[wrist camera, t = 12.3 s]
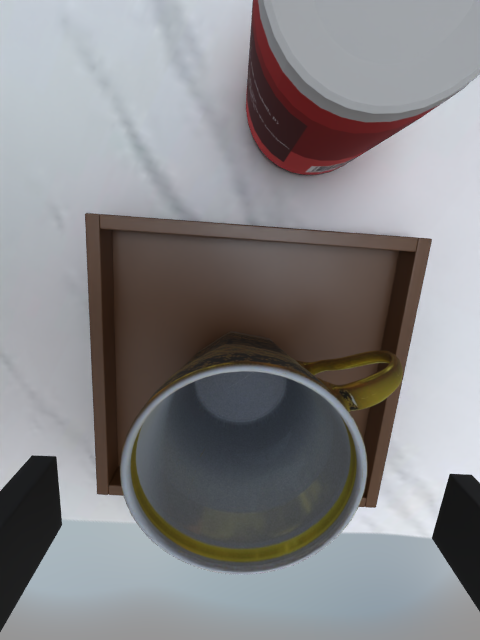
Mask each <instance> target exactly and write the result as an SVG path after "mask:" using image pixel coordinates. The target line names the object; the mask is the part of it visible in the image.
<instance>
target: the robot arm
mask: <svg viewBox="0 0 480 640" xmlns="http://www.w3.org/2000/svg"><path fill="white" fill-rule="evenodd" d="M61 526H62V519H61V507H60V495H59V483H58V471H57V459H56V457H55V456H31V457H30V458H29V459H28V461H27V462H26V463H25V464H24V465H23V466H22V467H21V468H20V470H19V471H18V472H17V473H16V474H15V475H14V476H13V477H12V479H11V480H10V481H9V482H8V483H7V484H6V485H5V486H4V488H3V489H2V490H1V491H0V632H1V630H2V628H3V626H4V625H5V623H6V621H7V619H8V618H9V616H10V614H11V613H12V611H13V609H14V607H15V606H16V604H17V602H18V600H19V599H20V597H21V595H22V594H23V592H24V590H25V588H26V587H27V585H28V583H29V581H30V579H31V578H32V576H33V574H34V573H35V571H36V569H37V568H38V566H39V564H40V562H41V560H42V559H43V557H44V555H45V554H46V552H47V550H48V548H49V547H50V545H51V543H52V541H53V540H54V538H55V536H56V535H57V533H58V531H59V529H60V528H61ZM432 539H433V541H434V542H435V544H436V545H437V547H438V548H439V550H440V551H441V553H442V554H443V556H444V557H445V559H446V561H447V562H448V564H449V565H450V567H451V568H452V570H453V571H454V573H455V574H456V576H457V577H458V579H459V581H460V582H461V584H462V585H463V587H464V588H465V590H466V591H467V593H468V594H469V596H470V597H471V599H472V600H473V602H474V604H475V605H476V606H477V608H478V610H479V611H480V483H479V482H478V481H477V480H476V479H475V478H474V477H473V476H472V475H463V474H450V475H449V479H448V482H447V486H446V489H445V493H444V497H443V500H442V504H441V507H440V511H439V515H438V518H437V522H436V525H435V529H434V533H433V536H432Z"/></svg>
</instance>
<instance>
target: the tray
mask: <svg viewBox="0 0 480 640" xmlns="http://www.w3.org/2000/svg"><path fill="white" fill-rule="evenodd" d="M85 224H86V247H87V270H88V293H89V316H90V340H91V363H92V386H93V409H94V432H95V455H96V478H97V494H102V495H108V494H109V495H123V491H122V486H121V479H120V461H121V454H122V448H123V445H124V441H125V438H126V435H127V433H128V431H129V429H130V427H131V425H132V423H133V421H134V419H135V418H136V416H137V415H138V414H139V412H140V411H141V409H142V408H143V407H144V405H145V404H146V403H147V401H148V400H149V399H150V398H151V396H152V395H153V394H154V393H155V392H156V391H157V390H158V389H159V388H160V387H161V386H162V385H163V384H164V383H165V382H166V381H167V380H168V379H169V378H170V377H171V376H172V375H174V374H175V373H176V372H177V371H179V370H180V369H182V368H183V367H184V366H185V365H186V364H187V363H188V362H189V361H190V360H191V359H192V357H193V356H194V355H195V354H197V353H198V352H199V351H200V350H202V349H203V348H205V347H206V346H208V345H209V344H211V343H213V342H214V341H216V340H217V339H219V338H220V337H222V336H224V335H225V334H227V333H228V332H231V331H233V332H239V333H244V334H249V335H255V336H260V337H265V338H269V339H271V340H272V341H273V342H274V343H275V344H276V345H277V346H278V347H279V348H281V349H282V350H283V351H284V352H286V353H287V354H288V355H289V356H290V357H291V358H293V359H294V360H296V361H297V360H299V361H303V362H315V361H320V360H327V359H337V358H342V357H346V356H351V355H355V354H359V353H363V352H368V351H378V350H383V351H389V352H391V353H393V354H395V355H396V356H397V357H398V358H399V360H400V362H401V365H402V368H403V375H404V370H405V366H406V361H407V356H408V351H409V346H410V342H411V337H412V332H413V327H414V323H415V318H416V313H417V308H418V303H419V299H420V294H421V289H422V284H423V280H424V275H425V270H426V265H427V260H428V256H429V251H430V246H431V241H432V239H427V238H414V237H400V236H387V235H374V234H360V233H347V232H333V231H320V230H306V229H293V228H279V227H266V226H253V225H239V224H226V223H212V222H199V221H185V220H172V219H158V218H145V217H131V216H118V215H105V214H91V213H86V214H85ZM388 365H389V363H374V364H368V365H363V366H358V367H354V368H349V369H343V370H329V371H323V372H320V373H317V374H316V375H314V376H315V377H317V378H320V379H322V380H324V381H326V382H329V383H332V384H334V385H343V384H348V383H351V382H354V381H357V380H360V379H363V378H366V377H368V376H370V375H373V374H375V373H378V372H380V371H381V370H383V369H385V368H386V367H387V366H388ZM402 380H403V376H402ZM402 380H401V383H400V384H399V386H398V387H397V389H396V390H395V391H394V392H393V393H392V394H391V395H389V396H388V397H387V398H386V399H384V400H383V401H381V402H380V403H378V404H375V405H373V406H371V407H368V408H365V409H361V410H354V411H350V414H351V416H352V417H353V419H354V421H355V422H356V424H357V426H358V428H359V430H360V432H361V435H362V438H363V441H364V445H365V449H366V454H367V479H366V485H365V490H364V493H363V497H362V500H361V502H360V504H359V507H374V508H375V507H376V504H377V499H378V495H379V490H380V485H381V480H382V475H383V471H384V466H385V461H386V456H387V452H388V447H389V442H390V437H391V432H392V428H393V423H394V418H395V413H396V409H397V404H398V399H399V394H400V389H401V385H402ZM123 496H124V495H123Z"/></svg>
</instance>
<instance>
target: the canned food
mask: <svg viewBox="0 0 480 640" xmlns="http://www.w3.org/2000/svg"><path fill="white" fill-rule="evenodd" d="M479 74H480V0H253V7H252V21H251V36H250V50H249V65H248V79H247V94H246V112H247V118H248V124H249V127H250V130H251V133H252V136H253V138H254V140H255V142H256V143H257V145H258V147H259V148H260V150H261V151H262V152H263V153H264V154H265V155H266V157H267V158H268V159H269V160H271V161H272V162H273V163H275V164H276V165H277V166H279V167H280V168H283V169H285V170H287V171H290V172H293V173H298V174H303V175H317V174H322V173H326V172H330V171H333V170H335V169H337V168H339V167H341V166H343V165H345V164H347V163H348V162H350V161H352V160H353V159H355V158H356V157H358V156H360V155H361V154H363V153H364V152H366V151H368V150H369V149H371V148H373V147H374V146H376V145H377V144H379V143H381V142H382V141H384V140H386V139H387V138H389V137H390V136H392V135H394V134H395V133H397V132H398V131H400V130H402V129H403V128H405V127H407V126H408V125H410V124H411V123H413V122H415V121H416V120H418V119H420V118H421V117H423V116H424V115H425V114H427V113H428V112H430V111H431V110H433V109H434V108H436V107H437V106H439V105H440V104H442V103H443V102H445V101H446V100H448V99H449V98H451V97H452V96H453V95H455V94H456V93H458V92H459V91H461V90H462V89H463V88H465V87H466V86H467V85H468V84H469V83H470V82H471V81H472V80H474V79H475V78H476V77H477V76H478V75H479Z"/></svg>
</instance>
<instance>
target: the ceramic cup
mask: <svg viewBox="0 0 480 640" xmlns="http://www.w3.org/2000/svg"><path fill="white" fill-rule="evenodd" d="M374 363H389V365H388V366H387V367H386V368H385V369H383V370H381V371H380V372H378V373H375V374H373V375H370V376H368V377H366V378H363V379H360V380H357V381H354V382H351V383H348V384H343V385H334V384H332V383H329V382H326V381H324V380H322V379H320V378H317V377H315V376H314V375H316V374H317V373H320V372H323V371H329V370H343V369H349V368H354V367H358V366H363V365H368V364H374ZM402 376H403V368H402V365H401V362H400V360H399V358H398V357H397V356H396V355H395V354H393V353H391V352H389V351H383V350H378V351H368V352H363V353H359V354H355V355H351V356H346V357H342V358H337V359H327V360H320V361H315V362H303V361H299V360H297V361H296V360H294V359H293V358H291V357H290V356H289V355H288V354H287V353H286V352H284V351H283V350H282V349H281V348H279V347H278V346H277V345H276V344H275V343H274V342H273V341H272V340H271V339H269V338H265V337H260V336H255V335H249V334H244V333H239V332H233V331H231V332H228V333H227V334H225V335H224V336H222V337H220V338H219V339H217V340H216V341H214V342H213V343H211V344H209V345H208V346H206V347H205V348H203V349H202V350H200V351H199V352H198V353H197V354H195V355H194V356H193V357H192V359H191V360H190V361H189V362H188V363H187V364H186V365H185V366H184V367H183V368H182V369H180V370H179V371H177V372H176V373H175V374H174V375H172V376H171V377H170V378H169V379H168V380H167V381H166V382H165V383H164V384H163V385H162V386H161V387H160V388H159V389H158V390H157V391H156V392H155V393H154V394H153V395H152V396H151V398H150V399H149V400H148V401H147V403H146V404H145V405H144V407H143V408H142V409H141V411H140V412H139V414H138V415H137V416H136V418H135V419H134V421H133V423H132V425H131V427H130V429H129V431H128V433H127V435H126V438H125V441H124V445H123V448H122V454H121V461H120V479H121V486H122V491H123V495H124V498H125V501H126V504H127V506H128V508H129V510H130V513H131V515H132V516H133V518H134V520H135V521H136V523H137V524H138V526H139V527H140V528H141V529H142V531H143V532H144V533H145V534H146V535H147V536H148V537H149V538H150V539H151V540H152V541H153V542H154V543H155V544H156V545H158V546H159V547H160V548H161V549H163V550H164V551H165V552H167V553H169V554H170V555H172V556H173V557H175V558H177V559H179V560H181V561H183V562H185V563H187V564H190V565H193V566H195V567H198V568H201V569H205V570H208V571H212V572H218V573H225V574H257V573H266V572H271V571H275V570H279V569H283V568H286V567H289V566H292V565H295V564H297V563H299V562H301V561H303V560H306V559H307V558H309V557H311V556H313V555H315V554H317V553H318V552H319V551H321V550H322V549H323V548H324V547H326V546H327V545H329V544H330V543H331V542H332V541H333V540H334V539H335V538H336V537H337V536H339V534H340V533H341V532H342V531H343V530H344V529H345V528H346V526H347V525H348V524H349V522H350V521H351V519H352V518H353V516H354V514H355V512H356V511H357V509H358V507H359V504H360V502H361V500H362V497H363V493H364V490H365V485H366V479H367V454H366V449H365V445H364V441H363V438H362V435H361V432H360V430H359V428H358V426H357V424H356V422H355V421H354V419H353V417H352V416H351V414H350V411H354V410H361V409H365V408H368V407H371V406H373V405H375V404H378V403H380V402H381V401H383V400H384V399H386V398H387V397H388V396H389V395H391V394H392V393H393V392H394V391H395V390H396V389H397V387H398V386H399V384H400V383H401V380H402Z"/></svg>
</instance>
